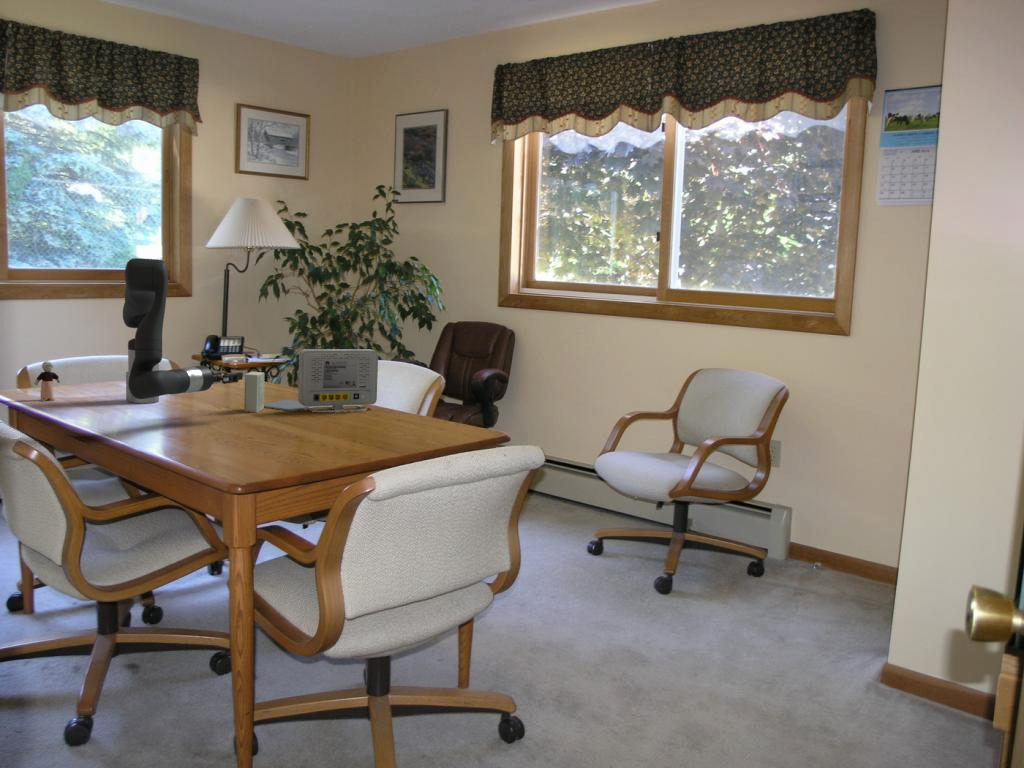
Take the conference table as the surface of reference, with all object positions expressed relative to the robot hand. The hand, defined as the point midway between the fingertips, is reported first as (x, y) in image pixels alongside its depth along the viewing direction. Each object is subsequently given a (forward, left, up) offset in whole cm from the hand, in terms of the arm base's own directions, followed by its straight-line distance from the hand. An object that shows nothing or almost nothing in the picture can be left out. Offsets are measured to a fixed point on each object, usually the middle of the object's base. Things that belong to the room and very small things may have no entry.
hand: (230, 374), depth 271 cm
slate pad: (+4, +24, -13) cm, 28 cm away
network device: (+19, +29, -13) cm, 38 cm away
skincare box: (0, +11, -13) cm, 17 cm away
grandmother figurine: (-60, -16, -13) cm, 64 cm away
